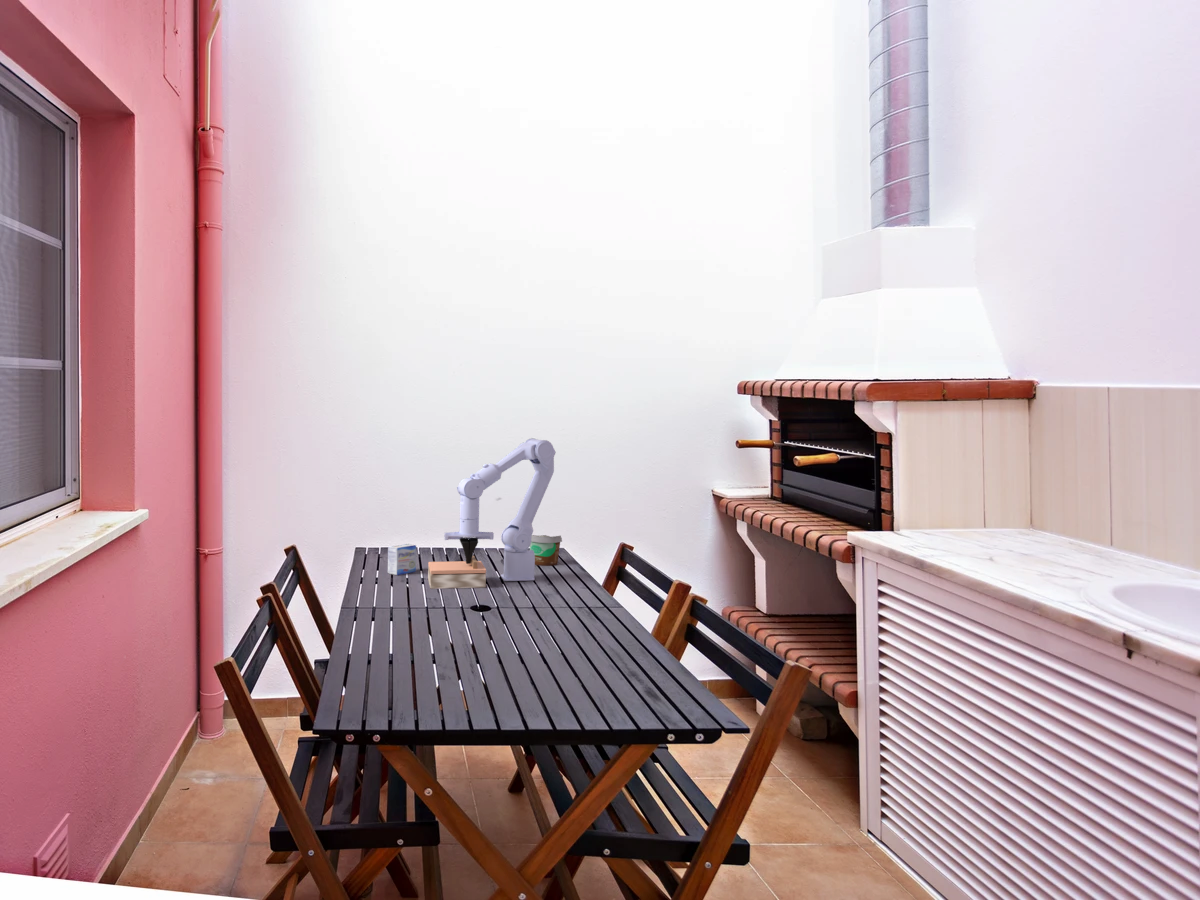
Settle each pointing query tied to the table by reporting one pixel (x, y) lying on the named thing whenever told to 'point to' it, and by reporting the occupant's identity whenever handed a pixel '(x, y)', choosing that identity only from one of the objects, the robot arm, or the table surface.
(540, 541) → the food container
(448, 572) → the sliding lid
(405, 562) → the medicine box
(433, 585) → the storage case
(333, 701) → the table surface
